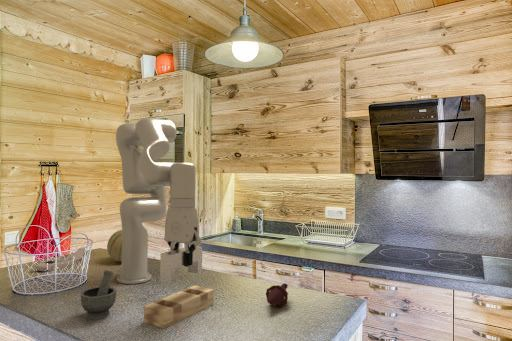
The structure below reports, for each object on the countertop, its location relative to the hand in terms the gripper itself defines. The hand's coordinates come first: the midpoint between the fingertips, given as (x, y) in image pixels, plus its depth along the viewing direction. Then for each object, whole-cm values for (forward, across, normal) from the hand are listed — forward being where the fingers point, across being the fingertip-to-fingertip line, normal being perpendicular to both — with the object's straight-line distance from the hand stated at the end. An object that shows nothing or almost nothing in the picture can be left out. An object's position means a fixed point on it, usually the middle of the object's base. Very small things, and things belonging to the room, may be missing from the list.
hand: (182, 264), depth 112 cm
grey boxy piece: (+4, 0, 0) cm, 4 cm away
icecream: (+15, +22, +20) cm, 33 cm away
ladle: (+14, -78, +12) cm, 80 cm away
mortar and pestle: (+15, -20, -14) cm, 28 cm away
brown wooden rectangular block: (+15, -1, 0) cm, 15 cm away
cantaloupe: (+14, -63, +31) cm, 71 cm away
